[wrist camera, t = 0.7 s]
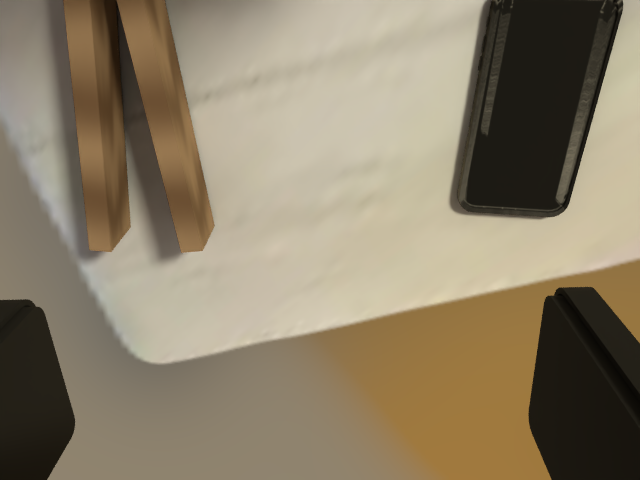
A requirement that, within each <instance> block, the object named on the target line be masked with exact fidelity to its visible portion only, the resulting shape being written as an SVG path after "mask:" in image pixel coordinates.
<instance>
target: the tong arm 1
mask: <svg viewBox="0 0 640 480" xmlns="http://www.w3.org/2000/svg"><path fill="white" fill-rule="evenodd" d="M63 3H64V12H65V22H66V31H67V41H68V50H69V60H70V70H71V79H72V89H73V98H74V108H75V117H76V127H77V136H78V146H79V155H80V165H81V175H82V184H83V194H84V203H85V213H86V222H87V232H88V241H89V250H95V251H105V252H112V250H113V249H114V248H115V246H116V245H117V244H118V243H119V241H120V240H121V239H122V237H123V236H124V235H125V234H126V232H127V231H128V230H129V229H130V227H131V226H130V210H129V195H128V180H127V165H126V149H125V134H124V119H123V104H122V88H121V73H120V58H119V43H118V27H117V12H116V0H63Z"/></svg>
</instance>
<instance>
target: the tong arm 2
mask: <svg viewBox="0 0 640 480" xmlns="http://www.w3.org/2000/svg"><path fill="white" fill-rule="evenodd" d="M117 4H118V7H119V11H120V15H121V19H122V23H123V27H124V31H125V35H126V39H127V43H128V46H129V50H130V54H131V58H132V62H133V66H134V70H135V74H136V78H137V82H138V85H139V89H140V93H141V97H142V101H143V105H144V109H145V113H146V117H147V121H148V125H149V128H150V132H151V136H152V140H153V144H154V148H155V152H156V156H157V160H158V164H159V167H160V171H161V175H162V179H163V183H164V187H165V191H166V195H167V199H168V203H169V206H170V210H171V214H172V218H173V222H174V226H175V230H176V234H177V238H178V242H179V245H180V249H181V253H184V252H195V251H203V249H204V247H205V245H206V243H207V241H208V239H209V236H210V234H211V232H212V230H213V228H214V226H215V225H214V221H213V216H212V212H211V207H210V203H209V198H208V194H207V189H206V185H205V180H204V176H203V171H202V167H201V162H200V158H199V153H198V149H197V144H196V139H195V135H194V130H193V126H192V121H191V117H190V112H189V108H188V103H187V99H186V94H185V90H184V85H183V81H182V76H181V72H180V67H179V63H178V58H177V54H176V49H175V44H174V40H173V35H172V31H171V26H170V22H169V17H168V13H167V8H166V4H165V0H117Z"/></svg>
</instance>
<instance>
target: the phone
mask: <svg viewBox="0 0 640 480" xmlns="http://www.w3.org/2000/svg"><path fill="white" fill-rule="evenodd" d="M622 11H623V0H492V1H491V6H490V12H489V17H488V20H487V25H486V27H487V29H486V34H485V36H484V41H483V46H482V56H480V62H479V67H478V70H479V74H478V79H477V85H476V91H475V96H474V102H473V108H472V113H471V119H470V124H469V130H468V136H467V141H466V147H465V153H464V158H463V164H462V169H461V175H460V181H459V186H458V192H457V197H458V200H459V202H460V204H461V206H462V207H463V208H464V209H465V210H467V211H470V212H478V213H494V214H509V215H525V216H540V217H554V216H557V215H559V214H561V213H562V212H564V211H565V209H566V208H567V207H568V204H569V202H570V198H571V194H572V191H573V187H574V184H575V180H576V176H577V173H578V169H579V166H580V162H581V158H582V155H583V151H584V148H585V144H586V140H587V137H588V133H589V130H590V126H591V122H592V119H593V115H594V112H595V108H596V104H597V101H598V97H599V94H600V90H601V86H602V83H603V79H604V76H605V72H606V69H607V65H608V61H609V58H610V54H611V51H612V47H613V43H614V40H615V36H616V33H617V29H618V25H619V22H620V18H621V15H622Z"/></svg>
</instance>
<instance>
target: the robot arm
mask: <svg viewBox="0 0 640 480" xmlns="http://www.w3.org/2000/svg"><path fill="white" fill-rule="evenodd" d="M529 424H530V429H531V432H532V434H533V437H534V439H535V442H536V444H537V446H538V449H539V451H540V453H541V456H542V458H543V460H544V463H545V465H546V467H547V470H548V472H549V474H550V477H551V479H552V480H640V343H639V342H638V341H637V340H636V338H635V337H634V336H633V335H632V334H631V332H630V331H629V330H628V329H627V328H626V326H625V325H624V324H623V323H622V322H621V320H620V319H619V318H618V317H617V315H616V314H615V313H614V312H613V311H612V309H611V308H610V307H609V306H608V305H607V304H606V302H605V301H604V300H603V299H602V297H601V296H600V295H599V294H598V293H597V292H596V290H595V289H594V288H592V287H569V288H558V289H557V290H556V292H555V294H554V296H547V297H546V299H545V302H544V308H543V314H542V322H541V328H540V335H539V343H538V349H537V356H536V363H535V370H534V378H533V384H532V391H531V398H530V406H529ZM74 427H75V418H74V414H73V410H72V407H71V403H70V400H69V396H68V393H67V389H66V386H65V382H64V379H63V376H62V372H61V368H60V365H59V362H58V358H57V355H56V351H55V348H54V344H53V341H52V337H51V334H50V330H49V327H48V323H47V320H46V317H45V314H44V311H43V310H42V309H41V308H40V307H36V306H35V304H34V303H33V302H32V301H30V300H0V480H47V479H48V477H49V475H50V474H51V472H52V470H53V468H54V467H55V465H56V463H57V461H58V460H59V458H60V456H61V455H62V453H63V451H64V450H65V448H66V446H67V444H68V443H69V441H70V439H71V437H72V435H73V432H74Z"/></svg>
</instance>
